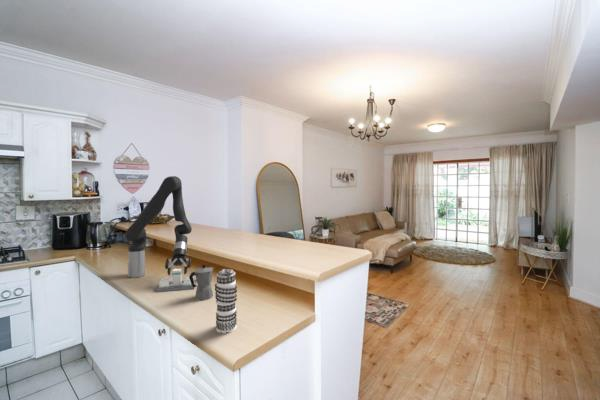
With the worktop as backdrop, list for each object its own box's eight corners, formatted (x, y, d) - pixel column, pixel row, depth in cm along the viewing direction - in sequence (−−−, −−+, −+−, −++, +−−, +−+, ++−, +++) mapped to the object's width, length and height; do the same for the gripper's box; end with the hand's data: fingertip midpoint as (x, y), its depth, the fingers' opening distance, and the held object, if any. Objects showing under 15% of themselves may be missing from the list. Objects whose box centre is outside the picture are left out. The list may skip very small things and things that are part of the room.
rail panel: (156, 292, 152) (156, 283, 152) (161, 284, 164) (161, 276, 163) (194, 288, 157) (194, 280, 157) (196, 281, 169) (196, 274, 168)
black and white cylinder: (212, 325, 116) (212, 269, 115) (233, 320, 121) (233, 266, 119) (218, 336, 108) (217, 275, 107) (240, 329, 113) (239, 271, 112)
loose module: (172, 286, 157) (172, 271, 157) (174, 283, 162) (173, 268, 161) (180, 285, 159) (180, 270, 158) (182, 282, 163) (181, 268, 162)
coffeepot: (208, 291, 154) (208, 260, 153) (219, 294, 149) (219, 263, 148) (184, 300, 141) (183, 267, 140) (195, 305, 136) (195, 270, 135)
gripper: (166, 247, 164) (162, 272, 154) (191, 246, 168) (189, 270, 158) (168, 254, 170) (165, 278, 159) (192, 253, 173) (190, 276, 163)
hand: (177, 274), depth 159 cm, fingers open, 8 cm apart
